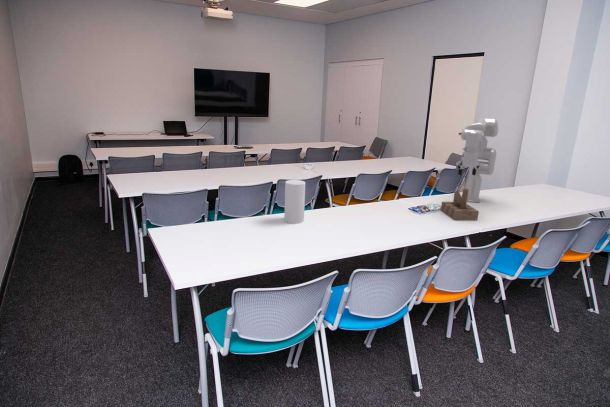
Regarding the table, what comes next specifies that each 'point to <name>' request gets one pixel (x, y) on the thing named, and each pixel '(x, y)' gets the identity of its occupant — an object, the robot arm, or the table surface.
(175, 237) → the table surface
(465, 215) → the end cap block
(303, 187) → the cylinder
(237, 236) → the table surface
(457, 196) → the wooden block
